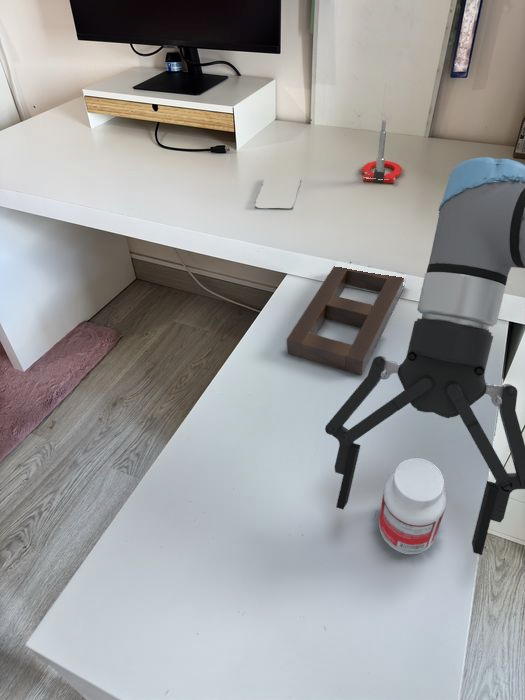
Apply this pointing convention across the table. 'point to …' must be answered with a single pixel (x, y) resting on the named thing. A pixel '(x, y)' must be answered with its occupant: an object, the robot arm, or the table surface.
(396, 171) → the tow hook
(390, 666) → the table surface
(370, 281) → the rack
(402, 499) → the pill bottle
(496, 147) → the table surface
